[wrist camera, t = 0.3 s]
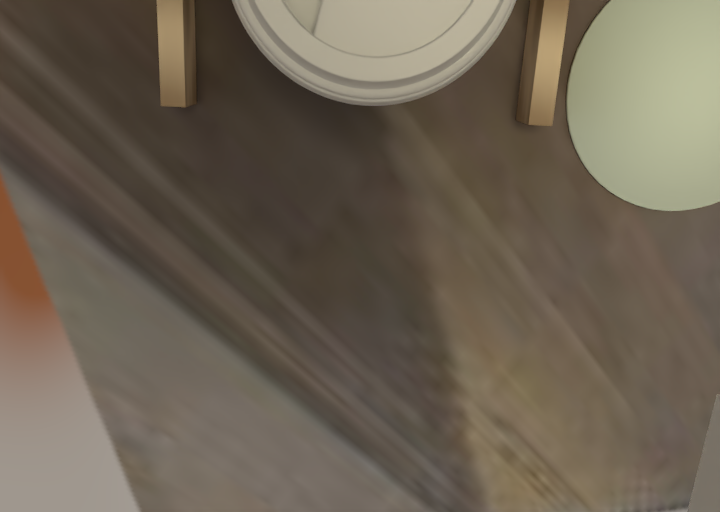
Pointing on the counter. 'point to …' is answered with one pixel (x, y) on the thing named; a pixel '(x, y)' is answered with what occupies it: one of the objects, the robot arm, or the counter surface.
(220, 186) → the counter surface
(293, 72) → the coffee cup
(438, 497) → the counter surface
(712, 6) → the coaster
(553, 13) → the shelf bay
